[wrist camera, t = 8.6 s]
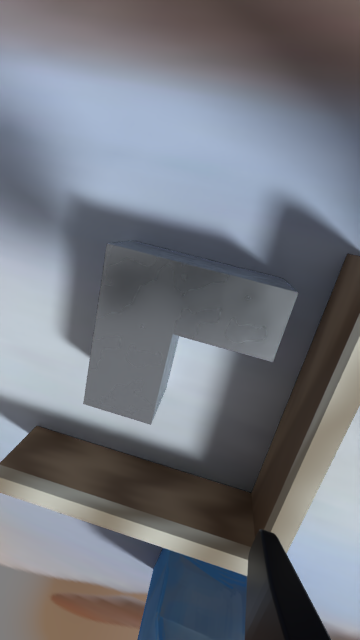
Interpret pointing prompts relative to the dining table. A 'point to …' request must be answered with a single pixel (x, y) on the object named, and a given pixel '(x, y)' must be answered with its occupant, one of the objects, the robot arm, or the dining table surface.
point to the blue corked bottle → (193, 601)
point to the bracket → (174, 321)
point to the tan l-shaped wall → (199, 493)
